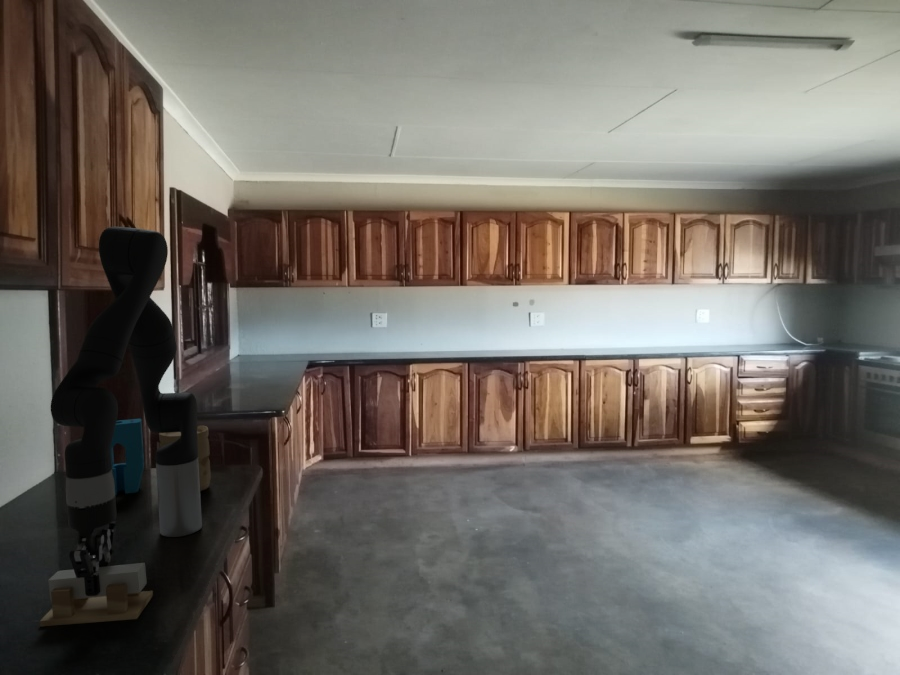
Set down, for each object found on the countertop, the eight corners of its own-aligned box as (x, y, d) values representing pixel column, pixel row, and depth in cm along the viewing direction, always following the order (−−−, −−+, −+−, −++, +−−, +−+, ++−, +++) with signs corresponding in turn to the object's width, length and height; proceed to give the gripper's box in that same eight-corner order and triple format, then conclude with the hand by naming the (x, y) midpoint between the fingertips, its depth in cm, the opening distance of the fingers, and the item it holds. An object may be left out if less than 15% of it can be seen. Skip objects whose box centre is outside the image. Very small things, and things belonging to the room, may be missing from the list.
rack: (63, 602, 114) (60, 571, 113) (152, 595, 116) (151, 565, 115) (40, 626, 106) (37, 593, 105) (137, 618, 108) (134, 586, 107)
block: (145, 485, 177) (141, 418, 175) (144, 491, 173) (140, 422, 170) (98, 491, 172) (93, 422, 170) (96, 497, 168) (91, 426, 166)
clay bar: (60, 591, 111) (58, 570, 111) (146, 583, 113) (144, 562, 113) (50, 601, 108) (48, 580, 107) (139, 592, 110) (137, 571, 109)
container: (161, 489, 173) (157, 428, 172) (208, 482, 179) (205, 422, 177) (164, 504, 162) (160, 438, 161) (214, 495, 168) (210, 432, 166)
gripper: (87, 485, 115) (93, 572, 117) (48, 513, 101) (56, 611, 103) (128, 482, 116) (134, 569, 118) (96, 510, 102) (103, 608, 104)
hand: (97, 588), depth 110 cm, fingers closed on clay bar, 3 cm apart
